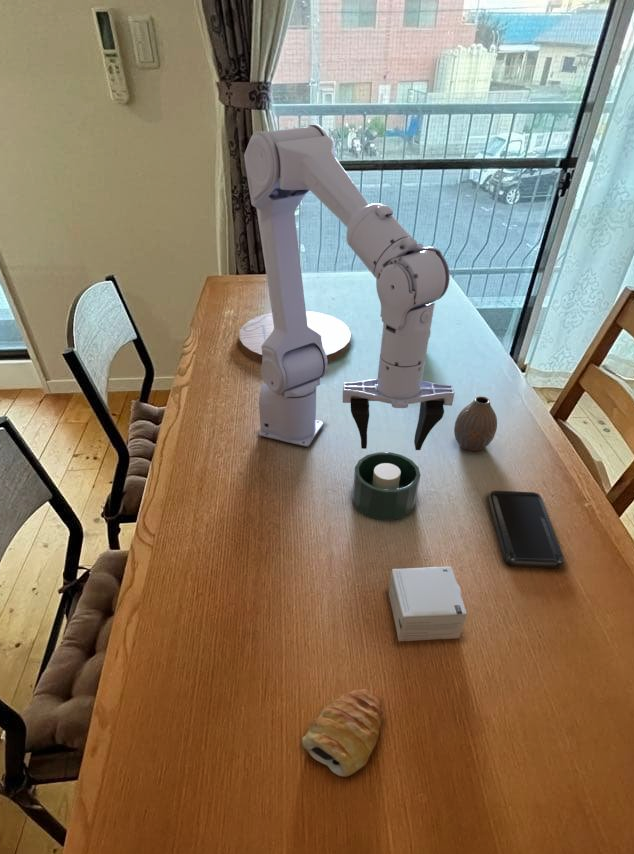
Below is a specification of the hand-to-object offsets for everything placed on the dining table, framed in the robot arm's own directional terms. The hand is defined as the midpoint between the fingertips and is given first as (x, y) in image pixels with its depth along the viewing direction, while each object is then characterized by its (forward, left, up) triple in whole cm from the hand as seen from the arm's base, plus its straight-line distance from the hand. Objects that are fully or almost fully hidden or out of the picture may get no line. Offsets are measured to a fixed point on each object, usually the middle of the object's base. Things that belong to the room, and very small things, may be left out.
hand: (390, 445), depth 79 cm
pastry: (+7, -39, -10) cm, 41 cm away
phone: (+21, +1, -10) cm, 23 cm away
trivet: (-34, +45, -10) cm, 57 cm away
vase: (+10, +20, -10) cm, 25 cm away
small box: (+11, -20, -10) cm, 25 cm away
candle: (0, 0, -10) cm, 10 cm away
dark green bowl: (0, 0, -10) cm, 10 cm away
